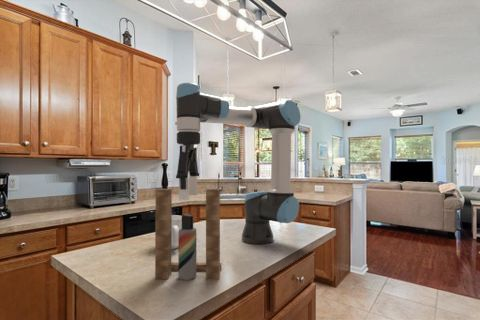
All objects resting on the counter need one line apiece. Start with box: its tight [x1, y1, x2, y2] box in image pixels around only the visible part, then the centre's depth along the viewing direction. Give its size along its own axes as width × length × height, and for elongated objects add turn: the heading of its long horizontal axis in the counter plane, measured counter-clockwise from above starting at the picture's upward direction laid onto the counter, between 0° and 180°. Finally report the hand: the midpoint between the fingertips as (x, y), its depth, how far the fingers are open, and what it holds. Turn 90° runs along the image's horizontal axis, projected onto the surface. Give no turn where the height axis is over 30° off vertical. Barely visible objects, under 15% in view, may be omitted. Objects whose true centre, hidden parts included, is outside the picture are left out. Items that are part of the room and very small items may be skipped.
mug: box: [172, 214, 183, 250], centre depth 115 cm, size 15×11×13 cm
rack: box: [154, 188, 222, 281], centre depth 88 cm, size 20×9×28 cm, turn 89°
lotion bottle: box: [177, 213, 197, 281], centre depth 86 cm, size 6×6×20 cm
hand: (188, 197), depth 86 cm, fingers open, 13 cm apart
